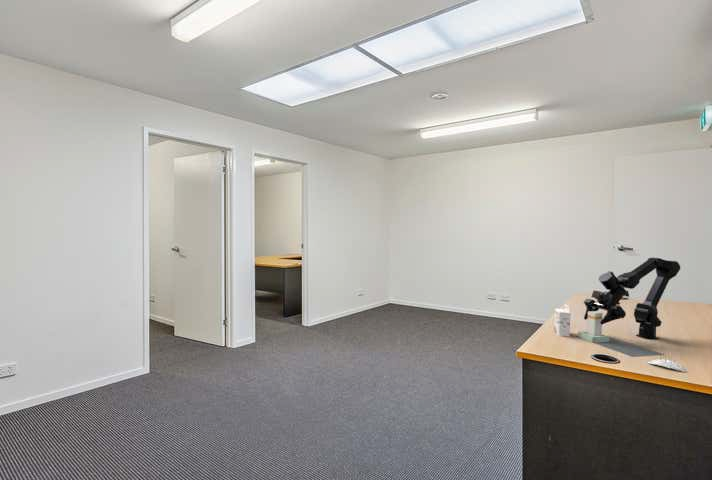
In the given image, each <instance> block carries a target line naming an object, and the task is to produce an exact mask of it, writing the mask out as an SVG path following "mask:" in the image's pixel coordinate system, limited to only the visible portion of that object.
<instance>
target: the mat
mask: <svg viewBox="0 0 712 480" xmlns="http://www.w3.org/2000/svg"><path fill="white" fill-rule="evenodd" d="M602 336H606V335H605V334H602ZM574 337H575V338H578V339H580V340H583V341H587V342H589V343H592V344H595V345H598V346H601V347H603V348H607V349H608V350H612V351H615V352H618V353H621V354H624V355H626V356H629V357H631V358H639V357H651V356H652V357H653V356H660V354H661V356H666V354H665V353H661V352H658V351H656V350H652V349H650V348H649V349H648V348H645V347H642V346H639V345H637V344H633V343H630V342H627V341H624V340H620V339H617V338H615V337H611V336H609V342H597V343H593V342H590V341H588V340H585V339H582V338H579V337H578V336H577V335H575V336H574Z"/></svg>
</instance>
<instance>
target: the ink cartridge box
mask: <svg viewBox="0 0 712 480" xmlns="http://www.w3.org/2000/svg"><path fill="white" fill-rule="evenodd" d="M553 330H554V331H553V332H554V333H556V335H557V336H559V337H571V306H570V305H568V304H567V303H564V308H554V326H553Z"/></svg>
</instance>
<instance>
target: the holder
mask: <svg viewBox="0 0 712 480" xmlns="http://www.w3.org/2000/svg"><path fill="white" fill-rule="evenodd" d="M578 337H579V338H578ZM578 337H577V338H578V339H581V338H582V339H581V340H583V339H585V340H584V341H586V340H588V341H587V342H589V341H590V342H589V343H592V342H593V343H592V344H595V343H597V342H609V337H610V335H605V336H591V335H588V334H587V330H586V331H578Z"/></svg>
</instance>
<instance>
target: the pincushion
mask: <svg viewBox="0 0 712 480" xmlns="http://www.w3.org/2000/svg"><path fill="white" fill-rule="evenodd" d="M659 357H660V358H658V359H653V360H649V361H648V362H647V363H648V364H650V365H657V366H659V367H660V368H661V367H664V368H665V369H666V368H668V369H671V370H676V371H681V372H683V373H688V370H687V369H686V368H685V367H684V366H682V365H680V364H679V363H677V362H676V361H674V360H672V359H673V356H672V357H671V356H668V357H669V359H666V358H662V355H661V354H660V355H659ZM670 357H671V359H670Z"/></svg>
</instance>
